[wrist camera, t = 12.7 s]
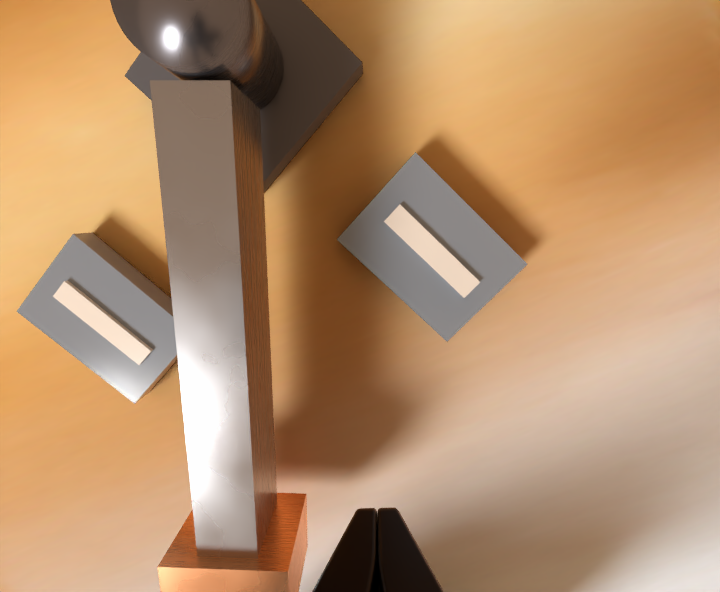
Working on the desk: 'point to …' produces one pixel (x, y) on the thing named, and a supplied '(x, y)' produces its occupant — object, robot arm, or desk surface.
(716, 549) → the desk surface
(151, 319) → the label tile
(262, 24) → the swing arm
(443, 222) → the label tile
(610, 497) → the desk surface
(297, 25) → the pivot base
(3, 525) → the desk surface
